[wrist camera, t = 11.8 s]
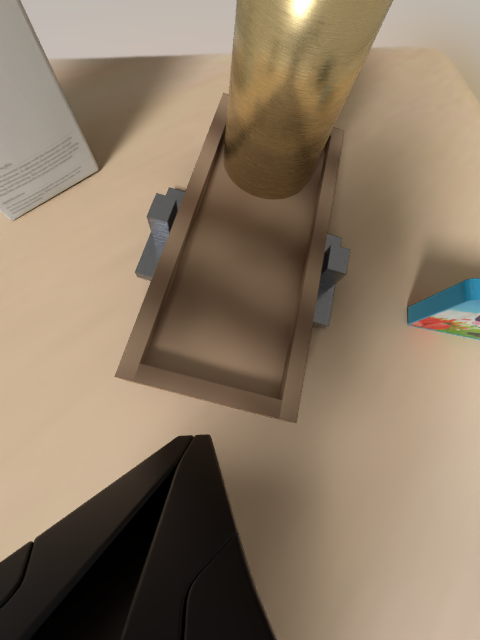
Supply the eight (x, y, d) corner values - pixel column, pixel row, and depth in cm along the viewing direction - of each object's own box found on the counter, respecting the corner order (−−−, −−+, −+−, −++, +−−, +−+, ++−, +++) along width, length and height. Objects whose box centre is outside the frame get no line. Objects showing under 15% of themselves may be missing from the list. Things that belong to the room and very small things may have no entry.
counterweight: (327, 178, 22) (511, -156, 9) (257, 213, 20) (360, -143, 7) (276, 118, 24) (372, -253, 10) (205, 146, 22) (212, -264, 8)
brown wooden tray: (285, 421, 18) (296, 423, 15) (125, 380, 17) (114, 376, 15) (332, 153, 25) (344, 130, 23) (221, 119, 24) (223, 92, 22)
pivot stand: (324, 328, 22) (346, 314, 19) (137, 276, 21) (124, 252, 18) (337, 243, 24) (359, 217, 21) (170, 194, 24) (164, 159, 20)
